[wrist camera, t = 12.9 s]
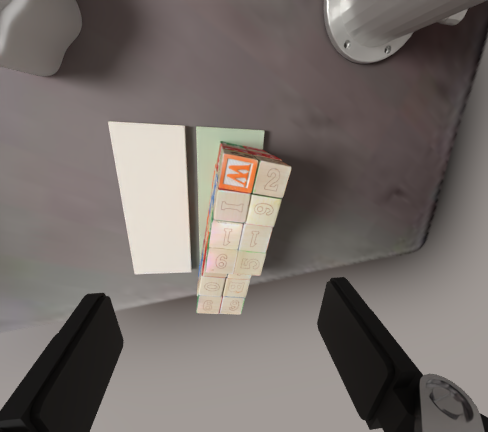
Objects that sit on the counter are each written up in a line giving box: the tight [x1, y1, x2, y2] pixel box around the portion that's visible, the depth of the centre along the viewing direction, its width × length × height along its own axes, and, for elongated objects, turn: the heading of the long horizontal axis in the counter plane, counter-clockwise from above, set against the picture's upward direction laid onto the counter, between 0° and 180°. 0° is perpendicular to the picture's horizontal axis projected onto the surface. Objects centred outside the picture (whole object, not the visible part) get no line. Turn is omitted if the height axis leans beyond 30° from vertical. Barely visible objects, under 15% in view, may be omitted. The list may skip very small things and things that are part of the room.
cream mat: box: [108, 121, 192, 274], centre depth 32 cm, size 9×23×1 cm, turn 177°
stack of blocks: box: [197, 141, 291, 314], centre depth 28 cm, size 21×6×12 cm, turn 168°
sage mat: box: [196, 126, 264, 259], centre depth 34 cm, size 9×23×1 cm, turn 177°
